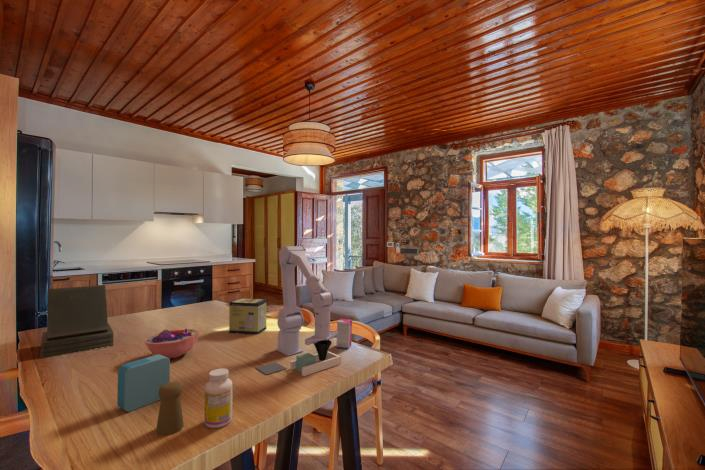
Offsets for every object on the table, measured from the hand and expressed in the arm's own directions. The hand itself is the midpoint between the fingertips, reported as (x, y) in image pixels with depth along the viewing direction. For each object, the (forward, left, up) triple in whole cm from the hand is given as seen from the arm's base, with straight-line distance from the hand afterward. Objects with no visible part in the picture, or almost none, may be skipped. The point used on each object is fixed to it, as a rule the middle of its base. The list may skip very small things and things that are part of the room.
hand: (322, 360), depth 123 cm
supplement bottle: (+13, -43, -2) cm, 45 cm away
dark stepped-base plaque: (-86, -66, -2) cm, 109 cm away
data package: (-11, -55, -2) cm, 56 cm away
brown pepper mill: (+8, -53, -2) cm, 54 cm away
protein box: (-60, -1, -2) cm, 60 cm away
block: (0, -7, -2) cm, 7 cm away
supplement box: (-10, +20, -2) cm, 22 cm away
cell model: (-46, -39, -2) cm, 60 cm away
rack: (0, -3, -2) cm, 4 cm away
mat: (-9, -16, -2) cm, 19 cm away
